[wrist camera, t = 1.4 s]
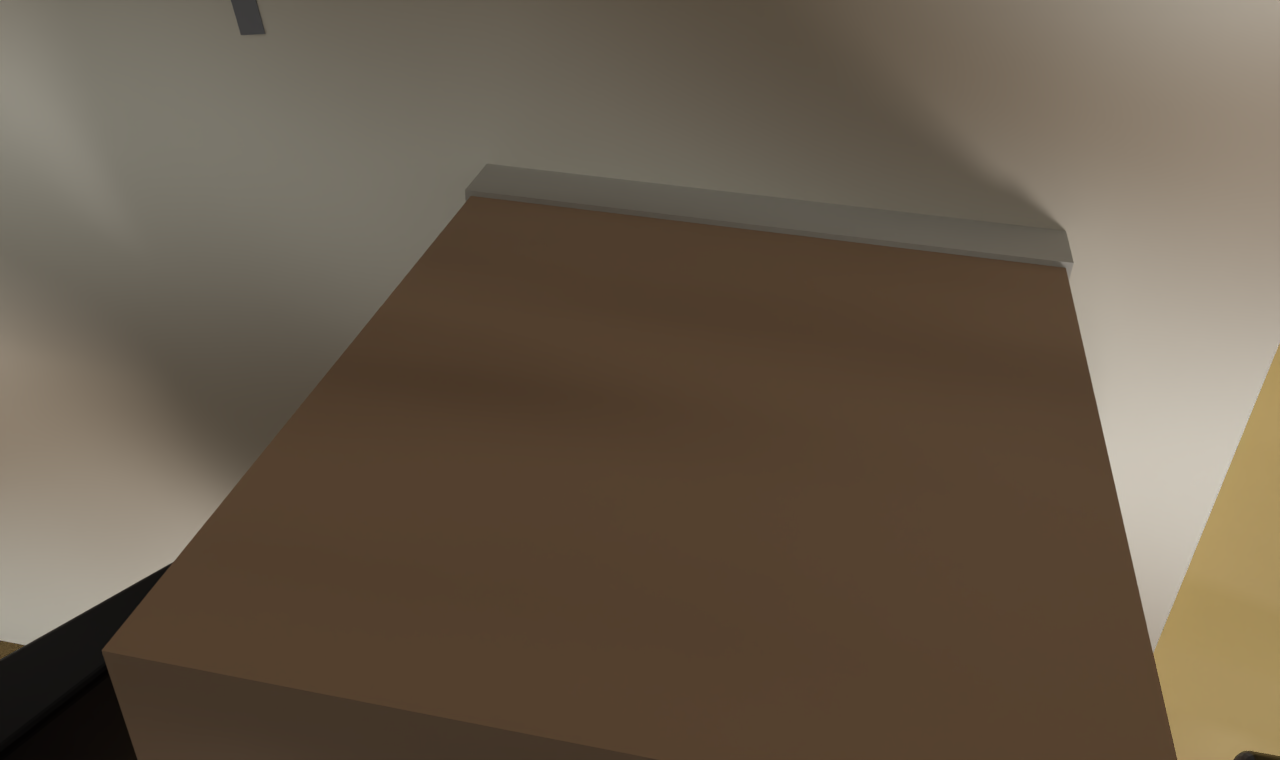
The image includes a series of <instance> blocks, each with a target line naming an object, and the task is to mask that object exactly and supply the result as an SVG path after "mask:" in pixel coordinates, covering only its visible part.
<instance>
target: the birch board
mask: <svg viewBox="0 0 1280 760" xmlns="http://www.w3.org/2000/svg"><path fill="white" fill-rule="evenodd" d="M486 164H494V165H503V166H511V167H520V168H528V169H537V170H546V171H554V172H563V173H572V174H580V175H589V176H597V177H606V178H615V179H623V180H632V181H641V182H649V183H658V184H666V185H675V186H684V187H692V188H701V189H709V190H718V191H727V192H735V193H744V194H753V195H761V196H770V197H778V198H787V199H796V200H804V201H813V202H821V203H830V204H839V205H847V206H856V207H865V208H873V209H882V210H890V211H899V212H908V213H916V214H925V215H934V216H942V217H951V218H959V219H968V220H977V221H985V222H994V223H1002V224H1011V225H1020V226H1028V227H1037V228H1046V229H1054V230H1063V231H1066V233H1067V237H1068V241H1069V245H1070V249H1071V253H1072V258H1073V262H1074V264H1073V268H1072V271H1071V275H1070V279H1069V284H1070V288H1071V293H1072V297H1073V302H1074V306H1075V311H1076V315H1077V319H1078V324H1079V328H1080V333H1081V337H1082V341H1083V346H1084V350H1085V355H1086V359H1087V364H1088V368H1089V372H1090V377H1091V381H1092V386H1093V390H1094V395H1095V399H1096V403H1097V408H1098V412H1099V417H1100V421H1101V425H1102V430H1103V434H1104V439H1105V443H1106V448H1107V452H1108V456H1109V461H1110V465H1111V470H1112V474H1113V479H1114V483H1115V487H1116V492H1117V496H1118V501H1119V505H1120V509H1121V514H1122V518H1123V523H1124V527H1125V532H1126V536H1127V540H1128V545H1129V549H1130V554H1131V558H1132V562H1133V567H1134V571H1135V576H1136V580H1137V585H1138V589H1139V593H1140V598H1141V602H1142V607H1143V611H1144V616H1145V620H1146V624H1147V629H1148V633H1149V638H1150V642H1151V646H1152V651H1153V652H1154V650H1155V647H1156V645H1157V643H1158V640H1159V638H1160V635H1161V633H1162V630H1163V628H1164V625H1165V623H1166V620H1167V618H1168V616H1169V613H1170V611H1171V608H1172V606H1173V603H1174V601H1175V598H1176V596H1177V593H1178V591H1179V589H1180V586H1181V584H1182V581H1183V579H1184V576H1185V574H1186V571H1187V569H1188V566H1189V564H1190V562H1191V559H1192V557H1193V554H1194V552H1195V549H1196V547H1197V544H1198V542H1199V539H1200V537H1201V535H1202V532H1203V530H1204V527H1205V525H1206V522H1207V520H1208V517H1209V515H1210V512H1211V510H1212V508H1213V505H1214V503H1215V500H1216V498H1217V495H1218V493H1219V490H1220V488H1221V485H1222V483H1223V481H1224V478H1225V476H1226V473H1227V471H1228V468H1229V466H1230V463H1231V461H1232V458H1233V456H1234V454H1235V451H1236V449H1237V446H1238V444H1239V441H1240V439H1241V436H1242V434H1243V431H1244V429H1245V427H1246V424H1247V422H1248V419H1249V417H1250V414H1251V412H1252V409H1253V407H1254V404H1255V402H1256V400H1257V397H1258V395H1259V392H1260V390H1261V387H1262V385H1263V382H1264V380H1265V377H1266V375H1267V373H1268V370H1269V368H1270V365H1271V363H1272V360H1273V358H1274V355H1275V353H1276V350H1277V348H1278V346H1279V343H1280V0H0V640H1V641H6V642H11V643H16V644H21V645H27V644H28V643H30V642H32V641H34V640H36V639H37V638H39V637H41V636H43V635H44V634H46V633H48V632H50V631H51V630H53V629H55V628H57V627H59V626H60V625H62V624H64V623H66V622H67V621H69V620H71V619H73V618H74V617H76V616H78V615H80V614H82V613H83V612H85V611H87V610H89V609H90V608H92V607H94V606H96V605H98V604H99V603H101V602H103V601H105V600H106V599H108V598H110V597H112V596H113V595H115V594H117V593H119V592H121V591H122V590H124V589H126V588H128V587H129V586H131V585H133V584H135V583H136V582H138V581H140V580H142V579H144V578H145V577H147V576H149V575H151V574H152V573H154V572H156V571H158V570H159V569H161V568H163V567H165V566H167V565H168V564H170V563H172V562H174V561H175V559H176V558H177V557H178V556H179V555H180V553H181V552H182V551H183V550H184V548H185V547H186V546H187V545H188V543H189V542H190V541H191V540H192V539H193V537H194V536H195V535H196V534H197V532H198V531H199V530H200V529H201V527H202V526H203V525H204V524H205V523H206V521H207V520H208V519H209V518H210V516H211V515H212V514H213V513H214V511H215V510H216V509H217V508H218V507H219V505H220V504H221V503H222V502H223V500H224V499H225V498H226V497H227V495H228V494H229V493H230V492H231V491H232V489H233V488H234V487H235V486H236V484H237V483H238V482H239V481H240V479H241V478H242V477H243V476H244V475H245V473H246V472H247V471H248V470H249V468H250V467H251V466H252V465H253V463H254V462H255V461H256V460H257V458H258V457H259V456H260V455H261V454H262V452H263V451H264V450H265V449H266V447H267V446H268V445H269V444H270V442H271V441H272V440H273V439H274V438H275V436H276V435H277V434H278V433H279V431H280V430H281V429H282V428H283V426H284V425H285V424H286V423H287V422H288V420H289V419H290V418H291V417H292V415H293V414H294V413H295V412H296V410H297V409H298V408H299V407H300V406H301V404H302V403H303V402H304V401H305V399H306V398H307V397H308V396H309V394H310V393H311V392H312V391H313V390H314V388H315V387H316V386H317V385H318V383H319V382H320V381H321V380H322V378H323V377H324V376H325V375H326V374H327V372H328V371H329V370H330V369H331V367H332V366H333V365H334V364H335V362H336V361H337V360H338V359H339V358H340V356H341V355H342V354H343V353H344V351H345V350H346V349H347V348H348V346H349V345H350V344H351V343H352V342H353V340H354V339H355V338H356V337H357V335H358V334H359V333H360V332H361V330H362V329H363V328H364V327H365V325H366V324H367V323H368V322H369V321H370V319H371V318H372V317H373V316H374V314H375V313H376V312H377V311H378V309H379V308H380V307H381V306H382V305H383V303H384V302H385V301H386V300H387V298H388V297H389V296H390V295H391V293H392V292H393V291H394V290H395V289H396V287H397V286H398V285H399V284H400V282H401V281H402V280H403V279H404V277H405V276H406V275H407V274H408V273H409V271H410V270H411V269H412V268H413V266H414V265H415V264H416V263H417V261H418V260H419V259H420V258H421V257H422V255H423V254H424V253H425V252H426V250H427V249H428V248H429V247H430V245H431V244H432V243H433V242H434V241H435V239H436V238H437V237H438V236H439V234H440V233H441V232H442V231H443V229H444V228H445V227H446V226H447V225H448V223H449V222H450V221H451V220H452V218H453V217H454V216H455V215H456V213H457V212H458V211H459V210H460V209H461V207H462V206H463V205H464V204H465V202H466V200H465V189H466V188H467V187H468V186H469V184H470V183H471V182H472V181H473V180H474V178H475V177H476V176H477V175H478V174H479V172H480V171H481V170H482V169H483V168H484V166H485V165H486Z"/></svg>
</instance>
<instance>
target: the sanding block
mask: <svg viewBox="0 0 1280 760" xmlns="http://www.w3.org/2000/svg"><path fill="white" fill-rule="evenodd" d="M465 200H466V202H465V204H464V205H463V206H462V207H461V209H460V210H459V211H458V212H457V213H456V215H455V216H454V217H453V218H452V220H451V221H450V222H449V223H448V225H447V226H446V227H445V228H444V229H443V231H442V232H441V233H440V234H439V236H438V237H437V238H436V239H435V241H434V242H433V243H432V244H431V245H430V247H429V248H428V249H427V250H426V252H425V253H424V254H423V255H422V257H421V258H420V259H419V260H418V261H417V263H416V264H415V265H414V266H413V268H412V269H411V270H410V271H409V273H408V274H407V275H406V276H405V277H404V279H403V280H402V281H401V282H400V284H399V285H398V286H397V287H396V289H395V290H394V291H393V292H392V293H391V295H390V296H389V297H388V298H387V300H386V301H385V302H384V303H383V305H382V306H381V307H380V308H379V309H378V311H377V312H376V313H375V314H374V316H373V317H372V318H371V319H370V321H369V322H368V323H367V324H366V325H365V327H364V328H363V329H362V330H361V332H360V333H359V334H358V335H357V337H356V338H355V339H354V340H353V342H352V343H351V344H350V345H349V346H348V348H347V349H346V350H345V351H344V353H343V354H342V355H341V356H340V358H339V359H338V360H337V361H336V362H335V364H334V365H333V366H332V367H331V369H330V370H329V371H328V372H327V374H326V375H325V376H324V377H323V378H322V380H321V381H320V382H319V383H318V385H317V386H316V387H315V388H314V390H313V391H312V392H311V393H310V394H309V396H308V397H307V398H306V399H305V401H304V402H303V403H302V404H301V406H300V407H299V408H298V409H297V410H296V412H295V413H294V414H293V415H292V417H291V418H290V419H289V420H288V422H287V423H286V424H285V425H284V426H283V428H282V429H281V430H280V431H279V433H278V434H277V435H276V436H275V438H274V439H273V440H272V441H271V442H270V444H269V445H268V446H267V447H266V449H265V450H264V451H263V452H262V454H261V455H260V456H259V457H258V458H257V460H256V461H255V462H254V463H253V465H252V466H251V467H250V468H249V470H248V471H247V472H246V473H245V475H244V476H243V477H242V478H241V479H240V481H239V482H238V483H237V484H236V486H235V487H234V488H233V489H232V491H231V492H230V493H229V494H228V495H227V497H226V498H225V499H224V500H223V502H222V503H221V504H220V505H219V507H218V508H217V509H216V510H215V511H214V513H213V514H212V515H211V516H210V518H209V519H208V520H207V521H206V523H205V524H204V525H203V526H202V527H201V529H200V530H199V531H198V532H197V534H196V535H195V536H194V537H193V539H192V540H191V541H190V542H189V543H188V545H187V546H186V547H185V548H184V550H183V551H182V552H181V553H180V555H179V556H178V557H177V558H176V559H175V561H174V562H173V563H172V564H171V566H170V567H169V568H168V569H167V571H166V572H165V573H164V574H163V575H162V577H161V578H160V579H159V580H158V582H157V583H156V584H155V585H154V587H153V588H152V589H151V590H150V591H149V593H148V594H147V595H146V596H145V598H144V599H143V600H142V601H141V603H140V604H139V605H138V606H137V608H136V609H135V610H134V611H133V612H132V614H131V615H130V616H129V617H128V619H127V620H126V621H125V622H124V624H123V625H122V626H121V627H120V628H119V630H118V631H117V632H116V633H115V635H114V636H113V637H112V638H111V640H110V641H109V642H108V643H107V644H106V646H105V647H104V648H103V649H102V654H103V657H104V660H105V663H106V666H107V669H108V672H109V675H110V678H111V681H112V684H113V687H114V690H115V693H116V696H117V699H118V702H119V705H120V708H121V711H122V714H123V717H124V720H125V723H126V726H127V729H128V732H129V735H130V738H131V741H132V744H133V747H134V750H135V753H136V757H137V760H1177V757H1176V753H1175V748H1174V744H1173V739H1172V735H1171V730H1170V726H1169V722H1168V717H1167V713H1166V708H1165V704H1164V700H1163V695H1162V691H1161V686H1160V682H1159V677H1158V673H1157V669H1156V664H1155V660H1154V655H1153V651H1152V646H1151V642H1150V638H1149V633H1148V629H1147V624H1146V620H1145V616H1144V611H1143V607H1142V602H1141V598H1140V593H1139V589H1138V585H1137V580H1136V576H1135V571H1134V567H1133V562H1132V558H1131V554H1130V549H1129V545H1128V540H1127V536H1126V532H1125V527H1124V523H1123V518H1122V514H1121V509H1120V505H1119V501H1118V496H1117V492H1116V487H1115V483H1114V479H1113V474H1112V470H1111V465H1110V461H1109V456H1108V452H1107V448H1106V443H1105V439H1104V434H1103V430H1102V425H1101V421H1100V417H1099V412H1098V408H1097V403H1096V399H1095V395H1094V390H1093V386H1092V381H1091V377H1090V372H1089V368H1088V364H1087V359H1086V355H1085V350H1084V346H1083V341H1082V337H1081V333H1080V328H1079V324H1078V319H1077V315H1076V311H1075V306H1074V302H1073V297H1072V293H1071V288H1070V284H1069V279H1070V275H1071V271H1072V268H1073V264H1074V262H1073V258H1072V253H1071V249H1070V245H1069V241H1068V237H1067V233H1066V231H1063V230H1054V229H1046V228H1037V227H1028V226H1020V225H1011V224H1002V223H994V222H985V221H977V220H968V219H959V218H951V217H942V216H934V215H925V214H916V213H908V212H899V211H890V210H882V209H873V208H865V207H856V206H847V205H839V204H830V203H821V202H813V201H804V200H796V199H787V198H778V197H770V196H761V195H753V194H744V193H735V192H727V191H718V190H709V189H701V188H692V187H684V186H675V185H666V184H658V183H649V182H641V181H632V180H623V179H615V178H606V177H597V176H589V175H580V174H572V173H563V172H554V171H546V170H537V169H528V168H520V167H511V166H503V165H494V164H486V165H485V166H484V168H483V169H482V170H481V171H480V172H479V174H478V175H477V176H476V177H475V178H474V180H473V181H472V182H471V183H470V184H469V186H468V187H467V188H466V189H465Z"/></svg>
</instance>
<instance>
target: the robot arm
mask: <svg viewBox="0 0 1280 760" xmlns="http://www.w3.org/2000/svg"><path fill="white" fill-rule="evenodd" d="M172 563H173V562H172ZM172 563H170V564H168V565H167V566H165V567H163V568H161V569H159V570H158V571H156V572H154V573H152V574H151V575H149V576H147V577H145V578H144V579H142V580H140V581H138V582H136V583H135V584H133V585H131V586H129V587H128V588H126V589H124V590H122V591H121V592H119V593H117V594H115V595H113V596H112V597H110V598H108V599H106V600H105V601H103V602H101V603H99V604H98V605H96V606H94V607H92V608H90V609H89V610H87V611H85V612H83V613H82V614H80V615H78V616H76V617H74V618H73V619H71V620H69V621H67V622H66V623H64V624H62V625H60V626H59V627H57V628H55V629H53V630H51V631H50V632H48V633H46V634H44V635H43V636H41V637H39V638H37V639H36V640H34V641H32V642H30V643H28V644H27V645H25V646H23V647H21V648H20V649H18V650H16V651H14V652H13V653H11V654H9V655H7V656H5V657H4V658H2V659H0V760H137V757H136V753H135V750H134V747H133V744H132V741H131V738H130V735H129V732H128V729H127V726H126V723H125V720H124V717H123V714H122V711H121V708H120V705H119V702H118V699H117V696H116V693H115V690H114V687H113V684H112V681H111V678H110V675H109V672H108V669H107V666H106V663H105V660H104V657H103V654H102V649H103V648H104V647H105V646H106V644H107V643H108V642H109V641H110V640H111V638H112V637H113V636H114V635H115V633H116V632H117V631H118V630H119V628H120V627H121V626H122V625H123V624H124V622H125V621H126V620H127V619H128V617H129V616H130V615H131V614H132V612H133V611H134V610H135V609H136V608H137V606H138V605H139V604H140V603H141V601H142V600H143V599H144V598H145V596H146V595H147V594H148V593H149V591H150V590H151V589H152V588H153V587H154V585H155V584H156V583H157V582H158V580H159V579H160V578H161V577H162V575H163V574H164V573H165V572H166V571H167V569H168V568H169V567H170V566H171V564H172ZM1234 760H1280V756H1276V755H1270V754H1264V753H1259V752H1253V751H1243V752H1241V753H1239V754H1238V755H1237V756H1236V757H1235V759H1234Z"/></svg>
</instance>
